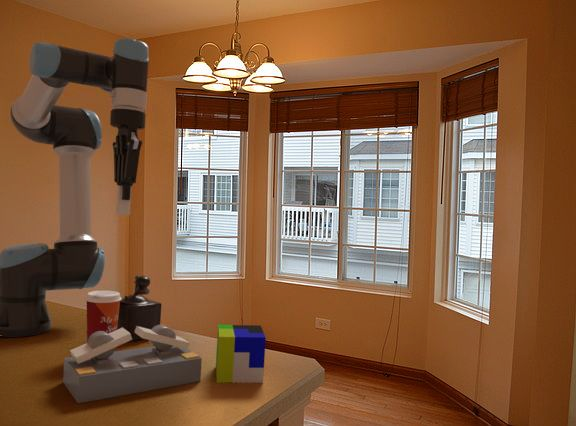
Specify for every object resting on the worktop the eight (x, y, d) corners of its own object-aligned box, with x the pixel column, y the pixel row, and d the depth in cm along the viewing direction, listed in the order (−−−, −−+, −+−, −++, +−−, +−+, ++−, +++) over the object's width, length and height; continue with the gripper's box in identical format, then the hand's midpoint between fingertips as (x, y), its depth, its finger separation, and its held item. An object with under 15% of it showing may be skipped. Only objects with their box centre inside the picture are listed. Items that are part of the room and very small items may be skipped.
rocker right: (131, 339, 109) (139, 318, 110) (175, 350, 115) (182, 329, 116) (139, 346, 105) (147, 323, 106) (184, 356, 111) (192, 335, 112)
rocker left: (74, 364, 102) (67, 342, 101) (126, 340, 108) (120, 320, 107) (81, 371, 98) (73, 349, 97) (134, 346, 104) (128, 325, 103)
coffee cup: (106, 362, 116) (110, 298, 116) (74, 358, 118) (78, 294, 117) (125, 352, 124) (128, 291, 124) (95, 348, 126) (98, 288, 126)
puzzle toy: (263, 382, 110) (265, 337, 109) (216, 382, 108) (219, 336, 108) (258, 367, 120) (260, 325, 119) (215, 367, 118) (218, 324, 118)
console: (63, 382, 103) (64, 355, 103) (177, 364, 118) (178, 340, 118) (77, 403, 93) (79, 373, 93) (200, 381, 108) (201, 355, 108)
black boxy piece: (104, 334, 138) (107, 269, 138) (139, 328, 147) (142, 266, 146) (136, 347, 128) (140, 277, 128) (172, 340, 137) (175, 274, 136)
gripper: (103, 110, 117) (98, 212, 117) (121, 104, 106) (115, 216, 107) (134, 115, 121) (129, 213, 122) (155, 109, 111) (149, 216, 111)
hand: (123, 214), depth 114 cm, fingers closed
